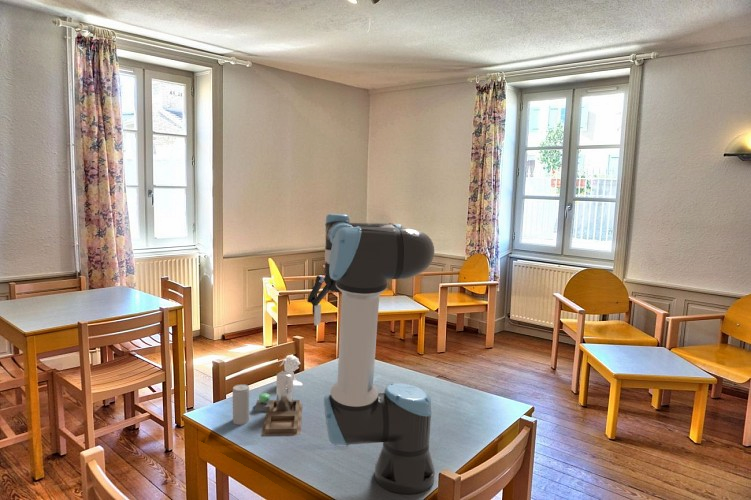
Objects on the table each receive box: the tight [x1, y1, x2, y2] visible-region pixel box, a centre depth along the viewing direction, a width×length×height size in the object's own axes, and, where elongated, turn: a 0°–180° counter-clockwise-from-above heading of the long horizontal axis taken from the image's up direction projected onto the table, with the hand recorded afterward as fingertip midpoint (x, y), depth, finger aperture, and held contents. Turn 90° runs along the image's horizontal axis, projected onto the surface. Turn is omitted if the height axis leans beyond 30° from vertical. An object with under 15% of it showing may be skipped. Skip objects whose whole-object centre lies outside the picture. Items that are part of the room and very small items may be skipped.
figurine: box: [279, 355, 303, 386], centre depth 180 cm, size 9×9×12 cm
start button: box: [258, 392, 271, 402], centre depth 161 cm, size 3×3×2 cm
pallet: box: [254, 399, 303, 436], centre depth 155 cm, size 20×14×3 cm
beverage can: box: [232, 383, 250, 425], centre depth 152 cm, size 5×5×12 cm
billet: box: [276, 370, 294, 412], centre depth 159 cm, size 5×5×12 cm
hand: (335, 327), depth 164 cm, fingers open, 13 cm apart
